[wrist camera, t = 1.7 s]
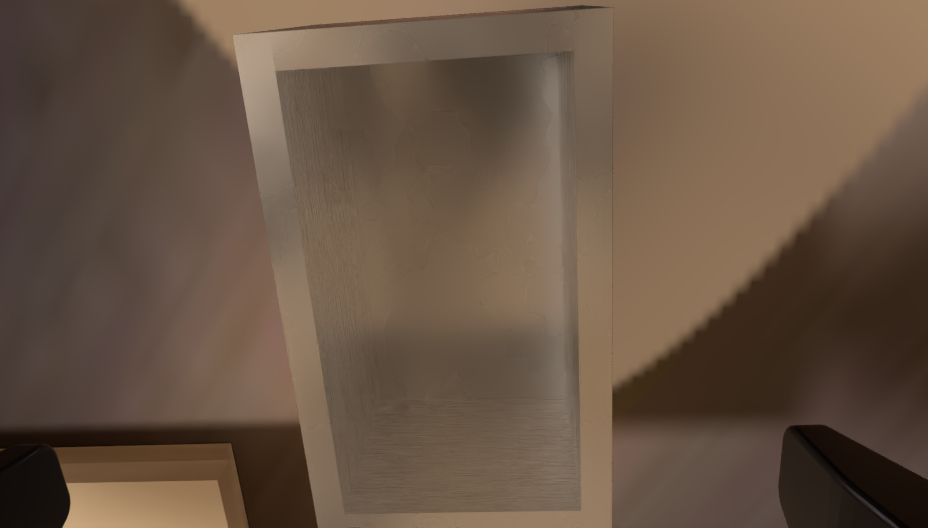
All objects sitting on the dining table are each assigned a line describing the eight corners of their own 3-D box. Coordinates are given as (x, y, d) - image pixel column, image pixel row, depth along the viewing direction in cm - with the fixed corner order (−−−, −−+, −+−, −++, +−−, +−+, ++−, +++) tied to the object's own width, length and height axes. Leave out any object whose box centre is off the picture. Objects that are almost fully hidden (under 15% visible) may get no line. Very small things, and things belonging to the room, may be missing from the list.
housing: (586, 402, 19) (611, 534, 14) (365, 408, 19) (319, 538, 15) (582, 5, 16) (613, 7, 11) (313, 24, 16) (232, 34, 11)
